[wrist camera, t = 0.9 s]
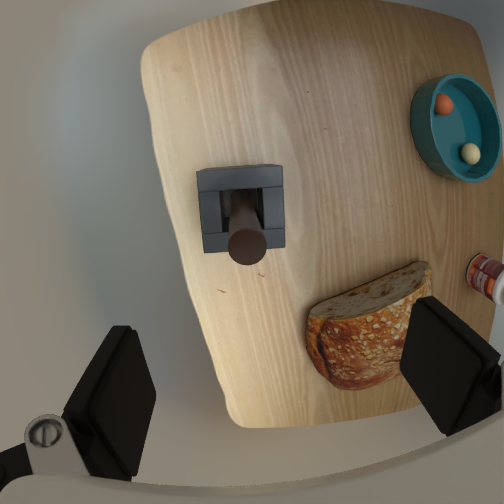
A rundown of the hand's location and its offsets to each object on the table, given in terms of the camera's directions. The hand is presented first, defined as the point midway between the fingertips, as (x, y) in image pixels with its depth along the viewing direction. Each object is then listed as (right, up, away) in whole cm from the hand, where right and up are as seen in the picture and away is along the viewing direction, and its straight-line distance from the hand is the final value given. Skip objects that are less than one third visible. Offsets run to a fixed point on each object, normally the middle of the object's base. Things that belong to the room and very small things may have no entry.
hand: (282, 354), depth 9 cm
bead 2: (+31, +18, +24) cm, 43 cm away
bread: (+17, -8, +34) cm, 38 cm away
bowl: (+28, +21, +25) cm, 43 cm away
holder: (-2, +10, +27) cm, 28 cm away
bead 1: (+25, +23, +21) cm, 40 cm away
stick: (-2, +10, +27) cm, 28 cm away
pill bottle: (+38, 0, +32) cm, 50 cm away
